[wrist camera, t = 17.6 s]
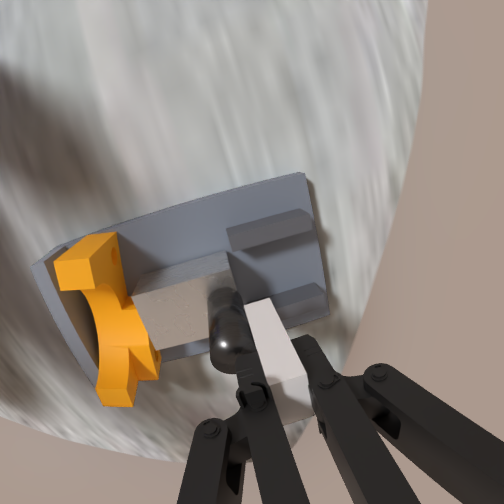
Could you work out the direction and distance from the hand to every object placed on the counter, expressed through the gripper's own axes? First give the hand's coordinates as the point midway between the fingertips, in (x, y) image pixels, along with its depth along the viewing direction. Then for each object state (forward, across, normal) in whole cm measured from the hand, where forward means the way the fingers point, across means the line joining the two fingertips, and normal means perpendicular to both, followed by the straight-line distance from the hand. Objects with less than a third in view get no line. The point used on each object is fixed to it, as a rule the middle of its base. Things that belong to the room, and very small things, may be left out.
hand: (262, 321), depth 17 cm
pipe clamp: (+8, -10, 0) cm, 13 cm away
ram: (+8, -4, 0) cm, 9 cm away
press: (+10, -4, 0) cm, 11 cm away
